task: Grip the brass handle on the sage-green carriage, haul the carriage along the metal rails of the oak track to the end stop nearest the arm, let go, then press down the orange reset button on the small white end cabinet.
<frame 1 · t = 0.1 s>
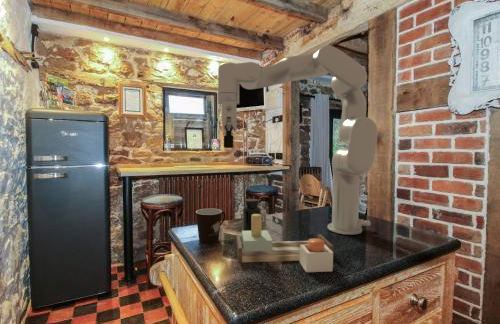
hand: (228, 147, 99), 31 cm above the worktop, tool pointing down, fingers open, 9 cm apart
track: (282, 253, 82), on the worktop
carriage: (256, 230, 80), point 7 cm above the worktop, slide at 0.0 cm
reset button: (316, 246, 73), point 5 cm above the worktop, slide at 0.0 cm
coffee mug: (213, 240, 93), on the worktop
end cabinet: (315, 266, 74), on the worktop
supplement bottle: (251, 232, 102), on the worktop
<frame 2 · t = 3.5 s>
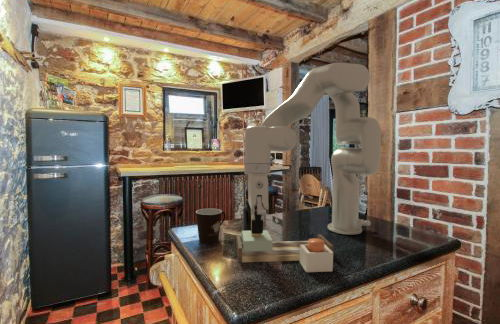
hand: (256, 230, 80), 7 cm above the worktop, tool pointing down, fingers closed on carriage, 3 cm apart
carriage: (256, 230, 80), point 7 cm above the worktop, slide at 0.0 cm, touching gripper
everything else where it was.
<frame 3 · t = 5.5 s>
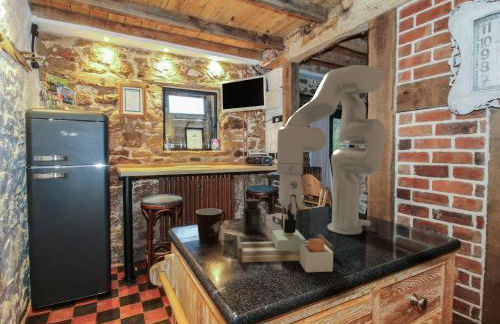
hand: (288, 230, 81), 7 cm above the worktop, tool pointing down, fingers closed on carriage, 3 cm apart
carriage: (288, 229, 81), point 7 cm above the worktop, slide at 9.5 cm, touching gripper
everything else where it was.
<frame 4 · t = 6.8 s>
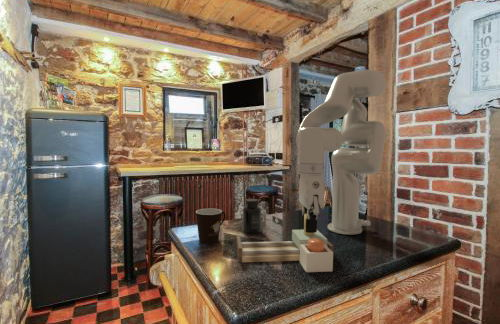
hand: (309, 229, 82), 7 cm above the worktop, tool pointing down, fingers closed on carriage, 3 cm apart
carriage: (309, 229, 82), point 7 cm above the worktop, slide at 15.9 cm, touching gripper
everything else where it was.
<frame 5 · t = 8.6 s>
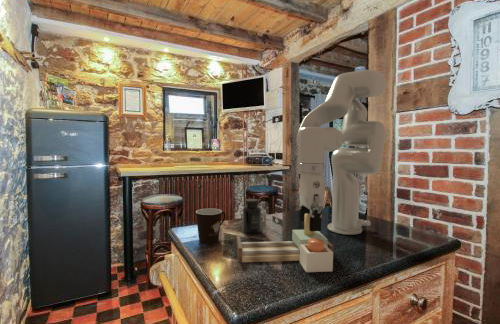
hand: (309, 225, 82), 8 cm above the worktop, tool pointing down, fingers open, 9 cm apart
carriage: (309, 229, 82), point 7 cm above the worktop, slide at 16.0 cm
everything else where it was.
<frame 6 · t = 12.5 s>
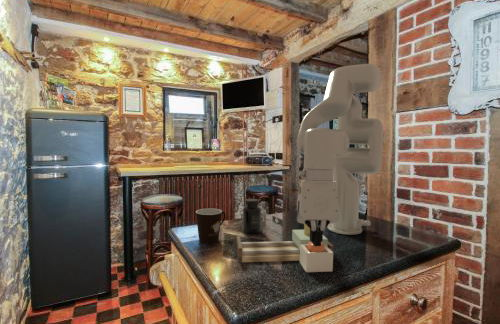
hand: (315, 244, 73), 6 cm above the worktop, tool pointing down, fingers closed
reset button: (316, 249, 73), point 5 cm above the worktop, slide at 0.8 cm, touching gripper
everything else where it was.
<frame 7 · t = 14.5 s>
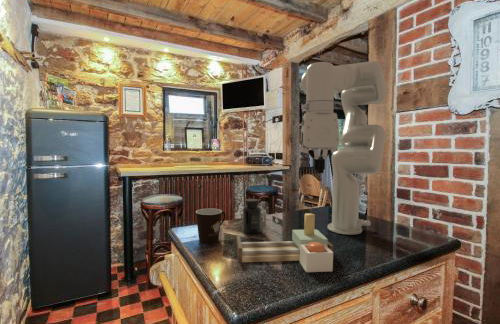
hand: (318, 172, 80), 25 cm above the worktop, tool pointing down, fingers closed
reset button: (316, 250, 73), point 4 cm above the worktop, slide at 1.0 cm
everything else where it was.
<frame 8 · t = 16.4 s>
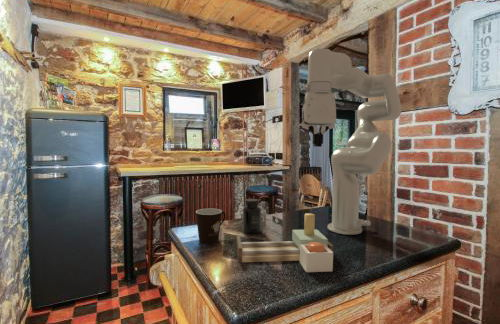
hand: (317, 146, 90), 32 cm above the worktop, tool pointing down, fingers closed
nothing on the worktop moved.
at the end: carriage slide at 16.0 cm; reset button slide at 1.0 cm; the gripper is holding nothing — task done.
